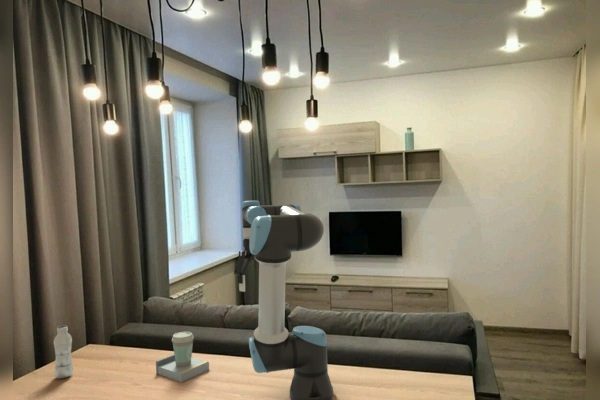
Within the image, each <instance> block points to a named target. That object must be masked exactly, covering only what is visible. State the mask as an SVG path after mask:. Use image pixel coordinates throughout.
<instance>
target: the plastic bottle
mask: <svg viewBox="0 0 600 400" xmlns="http://www.w3.org/2000/svg"><path fill="white" fill-rule="evenodd" d="M68 331H69V328H68V325H59V326H57V327H56V333H57V334H56V335H55V336H54V339H53V347H54V353H55V361H54V362H55V366H54V371H53V372H54V377H55V378H56V379H59V380H61V379H66V378H69V377H70V376H72V375H73V374H74V373H73V372H74V365H73V362H72V360H73V359H72V344H73V337H72V335H71V334H70V333H69V332H68Z"/></svg>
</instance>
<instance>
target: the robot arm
mask: <svg viewBox="0 0 600 400" xmlns="http://www.w3.org/2000/svg"><path fill="white" fill-rule="evenodd" d="M241 217H242V218H241V219H242V220H241V221H242V237H243V239H242V247H243V248H244V250H239V251H238V257H237V261H236V264H235V267H234V270H233V274H234V275H236V276H237V283H238V289H239V290H238V291H239V292H242V293H243V292H244V293H245V292H246V275H245V272H246V270H247V268H248V266H249V264H250V262H251V261H254V260H255V261H256V262H257V264H258V321H257V323H258V326H257V327H256V328H255V329H254V331H253V336H251V337H248V345H249V351H250V357H251V362H252V367H253V370H254V371H255V372H256V373H258V374H262V373H266V374H268V373H271V372H272V373H273V372H279V371H288V370H293V376H292V380H291V382H290V387H289V398H291V400H332V399H333V398H334V387H333V384H332V381H331V378H330V376H329V372H328V371H329V369H328V340H327V339H328V338H327V333H326V332H325V331H324V330H323V329H322V328H318V327H315V326H312V325H311V326H310V325H297V326H294V327H293V329H292V330H291V332H289V330H288V329H287V328H286V327H285V313H286V312H285V311H286V281H287V280H286V277H287V276H286V275H287V263H288V262H289V261H290V260H291V259H292V252H303V251H307V250H309V249H312V248H314V247H316V246H317V244H319V242H321V240H322V238H323V236H324V231H325V228H324V224H323V222H322V220H321V219H320V217H318V216H317V215H315V214H312V213H307V212H306V213H304V212H302V209H301V207H300V205H299V204H280V205H279V204H278V205H277V204H276V205H275V204H274V205H273V204H272V205H270V204H269V205H261V204H260V201H259V200H244V201H242V203H241ZM332 397H333V398H332Z"/></svg>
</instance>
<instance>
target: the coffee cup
mask: <svg viewBox="0 0 600 400" xmlns="http://www.w3.org/2000/svg"><path fill="white" fill-rule="evenodd" d="M194 338H195V337H194V335H193V333H192V332H190V331H180V332H176V333H174V334H173V335H172V338H171V342H172V346H173V347H172V349H173V354H174V355H175V362H176V366H177V367H186V366H189V365H190V364H191V357H193V356H192V354H193V344H194Z"/></svg>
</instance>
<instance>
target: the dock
mask: <svg viewBox="0 0 600 400" xmlns="http://www.w3.org/2000/svg"><path fill="white" fill-rule="evenodd" d="M155 370H156V374H157V375H160V376H162V377H166V378H169V379H171V380H174V381H177V382H180V383H182V382H185V381H186V380H188V379H191V378H193V377H196V376H198V375H200V374H202V373H205V372H207V371H209V370H210V362H209V361H208V360H203V359H199V358H197V357H193V356H192V357H191V364H190V365H189V366H186V367H177V366H176V362H175V355H174V353H173V354H170V355H169V356H165V357H162V358H160V359H157V360H156V361H155Z"/></svg>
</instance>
